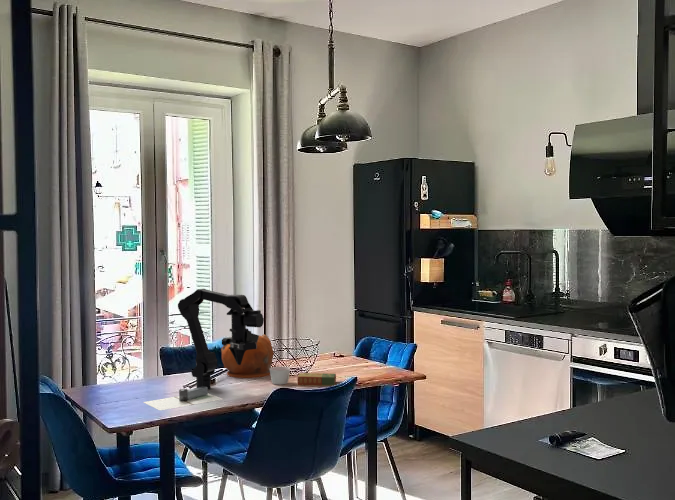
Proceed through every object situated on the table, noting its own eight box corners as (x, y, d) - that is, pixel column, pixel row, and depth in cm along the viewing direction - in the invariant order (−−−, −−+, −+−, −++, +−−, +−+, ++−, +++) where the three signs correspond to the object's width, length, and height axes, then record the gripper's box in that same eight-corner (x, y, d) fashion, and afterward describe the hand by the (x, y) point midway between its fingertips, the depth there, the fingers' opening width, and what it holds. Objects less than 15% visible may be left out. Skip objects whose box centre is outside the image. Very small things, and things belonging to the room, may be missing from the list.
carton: (299, 382, 298) (299, 372, 298) (336, 382, 297) (336, 372, 297) (297, 386, 289) (297, 376, 289) (334, 386, 288) (334, 376, 288)
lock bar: (182, 401, 258) (182, 391, 258) (177, 400, 260) (177, 390, 260) (208, 395, 268) (208, 385, 268) (203, 394, 270) (203, 384, 270)
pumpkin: (213, 373, 317) (213, 325, 316) (257, 366, 333) (257, 320, 333) (241, 380, 300) (240, 330, 299) (286, 372, 317) (285, 324, 316)
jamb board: (142, 404, 259) (142, 401, 259) (204, 394, 275) (204, 391, 275) (159, 413, 246) (159, 410, 246) (223, 401, 262) (223, 398, 262)
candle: (265, 384, 292) (265, 369, 292) (275, 380, 301) (275, 366, 301) (284, 386, 289) (284, 371, 289) (293, 381, 297) (293, 367, 297)
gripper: (268, 326, 272) (268, 365, 272) (244, 322, 286) (244, 359, 287) (243, 329, 265) (244, 369, 265) (220, 324, 279) (221, 362, 280)
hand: (239, 364), depth 274 cm, fingers closed
